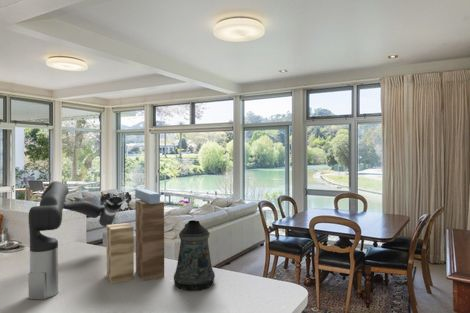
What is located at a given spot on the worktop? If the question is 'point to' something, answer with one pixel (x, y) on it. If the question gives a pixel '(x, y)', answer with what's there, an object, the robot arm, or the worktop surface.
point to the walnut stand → (149, 239)
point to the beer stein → (194, 259)
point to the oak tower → (120, 252)
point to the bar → (147, 196)
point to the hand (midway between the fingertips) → (118, 194)
